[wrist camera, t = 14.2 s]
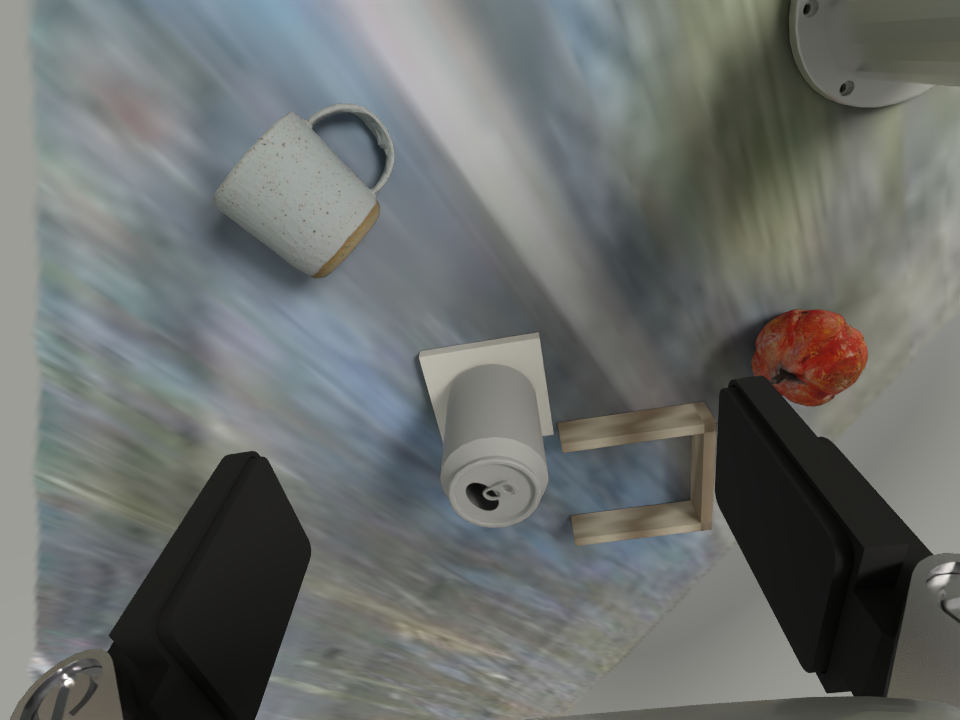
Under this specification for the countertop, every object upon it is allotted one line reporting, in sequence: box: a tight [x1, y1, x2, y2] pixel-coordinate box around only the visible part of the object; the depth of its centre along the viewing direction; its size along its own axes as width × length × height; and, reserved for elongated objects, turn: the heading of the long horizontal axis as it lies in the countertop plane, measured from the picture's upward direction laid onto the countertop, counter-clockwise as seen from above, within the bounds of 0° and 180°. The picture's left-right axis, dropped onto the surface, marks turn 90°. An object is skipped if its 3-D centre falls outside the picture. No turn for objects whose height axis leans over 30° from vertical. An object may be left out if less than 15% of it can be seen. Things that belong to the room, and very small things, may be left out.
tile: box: [419, 332, 554, 444], centre depth 46 cm, size 10×10×1 cm
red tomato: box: [751, 310, 868, 406], centre depth 41 cm, size 7×7×10 cm
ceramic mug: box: [213, 104, 394, 278], centre depth 34 cm, size 11×8×8 cm
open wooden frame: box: [557, 402, 717, 546], centre depth 49 cm, size 13×13×3 cm
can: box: [440, 364, 549, 528], centre depth 40 cm, size 8×8×12 cm
